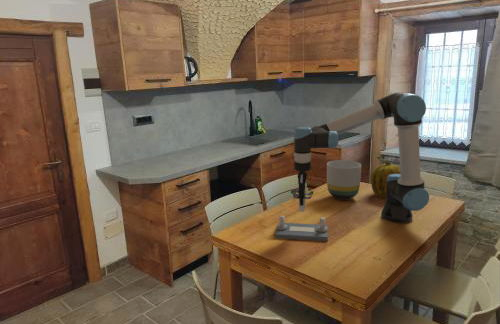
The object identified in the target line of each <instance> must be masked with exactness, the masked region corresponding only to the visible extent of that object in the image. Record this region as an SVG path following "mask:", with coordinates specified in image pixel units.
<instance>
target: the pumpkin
mask: <svg viewBox="0 0 500 324" xmlns="http://www.w3.org/2000/svg"><path fill="white" fill-rule="evenodd" d="M381 157H382V156H381V155H379V154H378V155H377V157H376V159H377V160H379V161H380V162H382V164H378V165H377V166H375V168H374V169H373V170H372V172H371V176H370V185H371V189H372V191H373V193H374V194H375V195H376V196H377V197H380V198H384V199H386V184H387V182H386V181H387V177H388V175H391V174H400V165H397V164H392V163H390V161H388V160H387V159H385V158H381Z"/></svg>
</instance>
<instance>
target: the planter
mask: <svg viewBox="0 0 500 324" xmlns="http://www.w3.org/2000/svg"><path fill="white" fill-rule="evenodd" d="M361 175H362V164H361V162H357V161H354V160H348V159H347V160H346V159H340V160H339V159H337V160H331V161H328V162H326V186H327V190H328V193H329V194H330V196H332V197H333V198H335V200H339V201H348V200H351V199H353V198H355V197H356V196H357V195H358V194H359V193H358V192H359V190H360V188H361V187H360V186H361V178H362V176H361Z"/></svg>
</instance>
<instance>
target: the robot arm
mask: <svg viewBox="0 0 500 324" xmlns="http://www.w3.org/2000/svg"><path fill="white" fill-rule="evenodd" d="M426 111H427V106H426V102H425V100H424V99H423V98H422V97H421V96H419V95H417V94H415V93H412V92H411V93H408V92H394V93H390V94H389V95H386V96H383V97H381V98H380V99H377V100H375V101H374V102H373V104H370V105H368V106H365V107H363V108H361V109H358V110H355V111H352V112H350V113H348V114H346V115H343V116H340V117H338V118H336V119H333V120H332V121H328V122H325V123H324V124H321V125H314V126H312V127H309V126H298V127H296V128H295V129H294V137H293V142H294V143H293V148H294V149H293V150H294V151H293V152H294V153H293V154H292V156H293V157H294V159H293V160H294V163H293V169H294V171H297V178H298V179H297V184H298V189H299V193H298V194H299V197H297V198H299V199H298V212H301V213H302V212H303V213H305V211H306V199H305V197H304V193H305V192H306V185H307V184H306V183H307V176H308V174H307V172H309V171H311V168H312V166H311V163H312V162H311V160H312V149H333V148H337V147H338V145H339V135H342V134H345V133H347V132H349V131H352V130H354V129H357V128H360V127H361V126H362V127H363V126H364V125H367V124H369V123H372V122H374V121H377V120H382V121H383V120H385V119H388V118H393V124H394V126H395V127H396V128H397V135H398V140H397V141H398V151H399V152H398V153H399V154H398V156H399V167H400V174H391V175H388V177H387V181H386V182H387V184H386V198H385V202H384V205H383V207H382V210H381V213H380V217H381V219H383V220H384V221H387V222H391V223H395V224H396V223H397V224H407V223H410V222H412V221H413V212H415V211H416V212H417V211H421V210H423V209H424V208H425V207H426V206H427V205H428V204H429V201H430V194H429V192H428V190H427V189H425V179H424V178H423V177H421V163H420V162H421V161H420V160H421V159H420V136H419V134H420V133H419V127H420V125H422V123H423V120H422V119H423V117H424V115H425V114H426ZM412 211H413V212H412Z"/></svg>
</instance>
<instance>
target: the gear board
mask: <svg viewBox="0 0 500 324" xmlns="http://www.w3.org/2000/svg"><path fill="white" fill-rule="evenodd" d="M285 219H286V218H285V216H284V215H280V216H279V222H278V224H277V225H276V230H275V232H274V238H275V239H283V240H284V239H286V240H299V241H300V240H301V241H315V242H316V241H319V242H328V241H329V240H328V239H329V235H328V231H329V229H328V228H329V227H328V224H326V218H325V217H320V218H319V224H316V223H299V222H297V223H295V222H285Z"/></svg>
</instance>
